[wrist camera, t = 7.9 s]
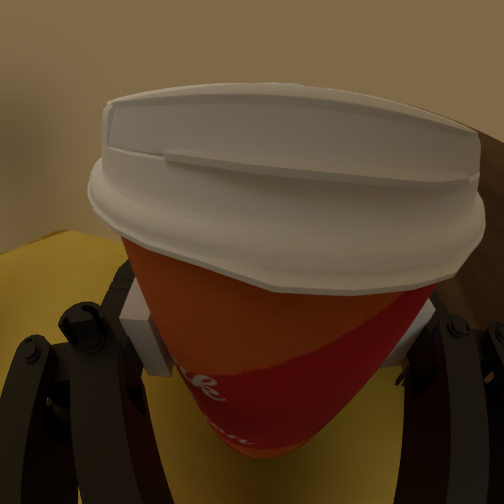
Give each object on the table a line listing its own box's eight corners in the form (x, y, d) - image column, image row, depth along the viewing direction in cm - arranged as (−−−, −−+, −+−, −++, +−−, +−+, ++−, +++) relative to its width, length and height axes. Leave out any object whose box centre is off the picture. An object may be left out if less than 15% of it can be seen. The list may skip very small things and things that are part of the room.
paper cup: (199, 350, 16) (161, 87, 8) (326, 351, 16) (389, 98, 8) (183, 475, 9) (-55, 169, 1) (344, 473, 9) (591, 202, 1)
